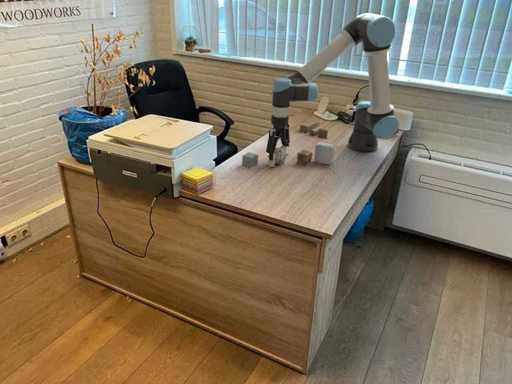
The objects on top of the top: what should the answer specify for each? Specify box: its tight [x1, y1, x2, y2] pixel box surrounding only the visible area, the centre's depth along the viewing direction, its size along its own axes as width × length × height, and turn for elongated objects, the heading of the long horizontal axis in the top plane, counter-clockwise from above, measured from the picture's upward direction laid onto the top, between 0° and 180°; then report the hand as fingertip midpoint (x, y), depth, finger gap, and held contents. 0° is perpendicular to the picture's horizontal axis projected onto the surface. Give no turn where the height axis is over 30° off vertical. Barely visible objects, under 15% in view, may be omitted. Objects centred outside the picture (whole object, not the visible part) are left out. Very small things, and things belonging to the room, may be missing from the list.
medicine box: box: [313, 141, 335, 166], centre depth 199 cm, size 8×4×9 cm, turn 65°
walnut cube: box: [296, 149, 313, 166], centre depth 199 cm, size 5×5×5 cm
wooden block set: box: [299, 117, 329, 139], centre depth 239 cm, size 17×6×18 cm
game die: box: [267, 145, 289, 165], centre depth 196 cm, size 9×8×10 cm
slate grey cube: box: [241, 151, 259, 169], centre depth 194 cm, size 5×5×5 cm
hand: (277, 162), depth 197 cm, fingers closed on game die, 9 cm apart
